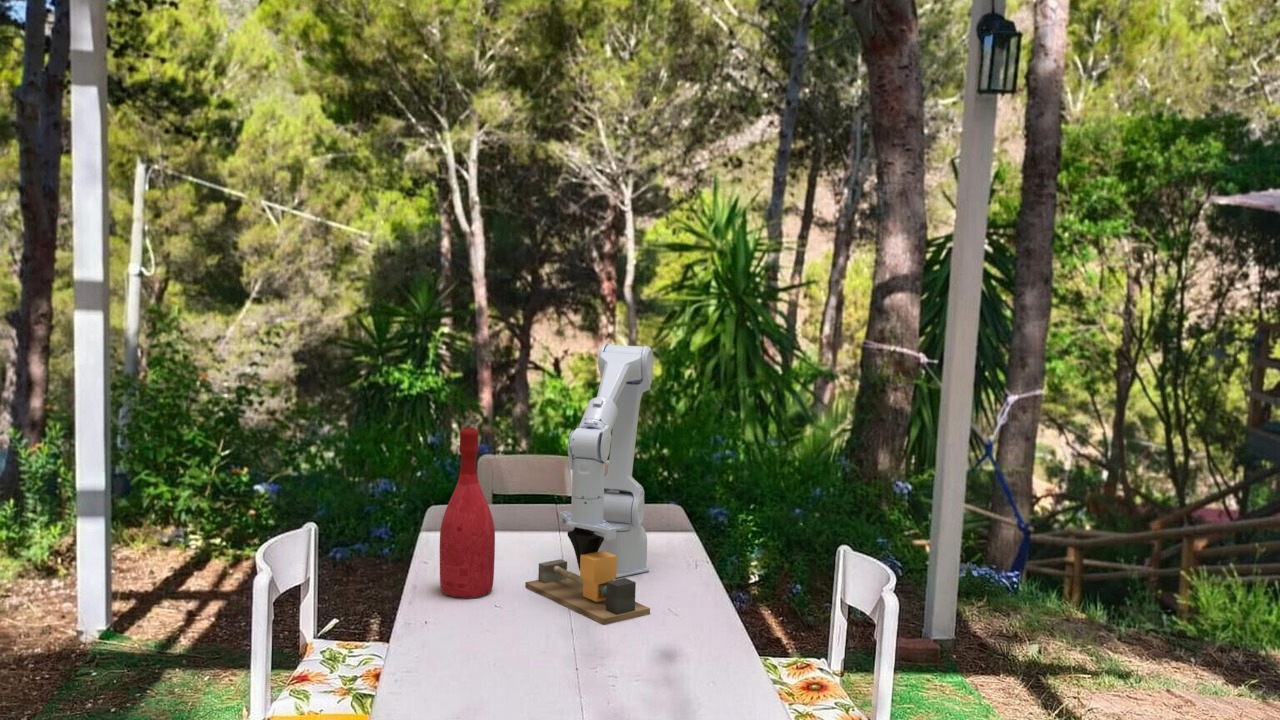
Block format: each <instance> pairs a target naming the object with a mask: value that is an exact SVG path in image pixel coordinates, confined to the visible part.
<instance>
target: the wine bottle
mask: <svg viewBox="0 0 1280 720" xmlns="http://www.w3.org/2000/svg"><path fill="white" fill-rule="evenodd" d="M458 452H459V453H460V455H461V456H460V467H459V468H460V471H459V475H458V480H457V483H456V486H455V488H454V491H453V492H452V495H451V497H450V499H449V501H448V504H447V506H446V509H445V511H444V514H443V516H442V517H443V518H442V521H441V524H440V531H439V585H440V590H441V591H442V593H444V594H445V595H447V596H450V597H455V598H461V599H463V598H464V599H465V598H466V599H467V598H477V597H478V598H479V597H482V596H484V595H487V594H488V593H490V592H491V590H493V587H494V577H495V559H496V558H495V553H496V549H495V548H496V534H495V532H496V531H495V524H494V518H493V515H492V512H491V509H490V507H489V503H488V502H487V499H486V497H485V493H483V492H484V491H483V490H482V487H481V484H480V481H479V476H478V470H477V454H478V452H479V430H478V429H477V428H474V427H463V428H461V430H460V432H459V448H458Z"/></svg>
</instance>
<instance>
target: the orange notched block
mask: <svg viewBox="0 0 1280 720" xmlns="http://www.w3.org/2000/svg"><path fill="white" fill-rule="evenodd" d="M579 576H580V577H581V578H583V596H584V597H587V598H589V599H591V600H593V601H595V602H598V601H603V600H606V597H604V596H602V595H601V593H600V592H599V584H600V585H602V586H603V585H606V582H607V581H612V580H616V579H617V578H616V576H617V556H616V555H613V554H611V553H608V552H605V551H599V552H594V553H588V554H583V555H581V556H580V571H579Z"/></svg>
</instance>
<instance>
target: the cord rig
mask: <svg viewBox="0 0 1280 720" xmlns="http://www.w3.org/2000/svg"><path fill="white" fill-rule="evenodd" d="M636 584H637V583H636V581H633V580H631V579H629V578H626V577H621V578H616V579H613V580H612V581H607V582H606V585H603V586H602V585H600V584H599V592H600V593H601V595H602V596H604V597H606V600H603V601H598V602H595V601H593V600H591V599H589V598H587V597H584V596H583V578H581V577H580V574H577V573H574V572H572V571H570V570H568V561H566V560H564V559H562V558H560V559H554V560H550V561H543V562H539V563H538V578H537V579H536V580H535V579H534V580H531V581H530V580H529V581H525V588H526V589H527V590H530V591H531V592H534V593H535V594H538V595H540V596H542V597H545V598H547V600H550V601H553V602H554V603H557V604H559V605H561V606H563V607H566V608H568V610H572V611H574V612H576V613H578V614H580V615H582V616H584V617H586V618H588V619H591V620H592V621H595V622H597V623H599V624H601V625H603V626H605V625H608V624H610V625H611V624H613V623H618V622H621V621H626V620H627V621H628V620H630V619H634V618H640V617H642V616H647V615H650V614H651V607H648V606H646V605H643V604H642V603H639V602H637V601H636V587H637V585H636Z"/></svg>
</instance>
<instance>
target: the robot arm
mask: <svg viewBox="0 0 1280 720" xmlns="http://www.w3.org/2000/svg"><path fill="white" fill-rule="evenodd" d="M654 365H655V363H654V352H653V350H652V349H651V347H650V346H649V345H645V346H641V345H640V346H638V345H623V344H622V345H621V344H609V343H604V344H602V346H601V347H600V349H599V351H598V357H597V368H598V371H599V374H600V378H601V379H600V383H599V388H598V392H597V395H596V397H593V398H592V399H590V400H589V401H588V404H587V406H586V408H585V410H584V412H583V415H582V418H581V420H580V423H579V426H578V427H576V428H575V430H574V429H573V430H572V431H571V432H570V434H569V436H568V441H567V442H568V443H567V454H568V459H569V469H570V470H571V472H572V474H571V505H570V506H571V508H570V509H571V510H566V511H560V512H559V513H558V514H559V515H558V516H559V517H558V518H559V519H558V523H560V524H565V525H566V527H569V528H571V529H572V528H573V530H568V531H567V537H568V539H569V541H570V542H571V545H572V547H573V550H574V554H575V557H576V563H577V566H578V567H577V568H578V571H579V572H580V556H581V555H583V554H588V553H594V552H599V551H605V552H608V553H611V554H613V555H616V556H617V576H616V578H615V579H619V578H624V577H627V576H632V575H636V574H641V573H646V572H649V571H650V570H649V568H648V567H647V561H648V560H647V559H648V558H647V557H648V535H647V533H646V532H647V531H646V529H645V528H644V527H643V526H642V525H641V524H642V523H643V520H644V514H645V490H644V487H643V486H642V484H640V482H638V481H637V480H636V479H635V478H634V477H633V468H634V462H635V461H634V459H635V453H636V452H635V451H636V441H637V432H638V423H639V415H640V414H639V413H640V406H641V400H642V397H643V393H645V392H647V391H650V390H651V386H652V382H653V374H654ZM607 460H608V467H607V469H608V470H607V473H606V462H607ZM605 474H606V475H605ZM611 491H612V492H611ZM613 491H615V492H613ZM622 492H623V493H622ZM625 492H626V493H625Z"/></svg>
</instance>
